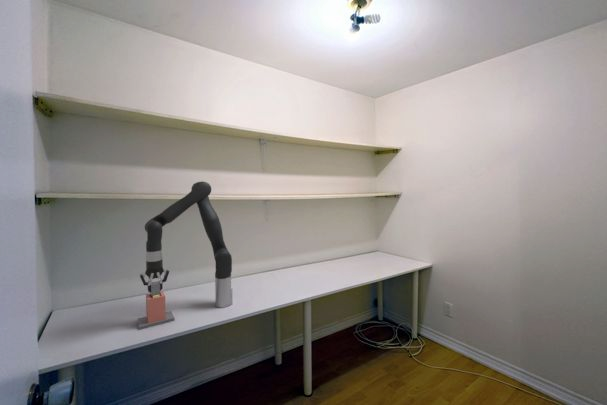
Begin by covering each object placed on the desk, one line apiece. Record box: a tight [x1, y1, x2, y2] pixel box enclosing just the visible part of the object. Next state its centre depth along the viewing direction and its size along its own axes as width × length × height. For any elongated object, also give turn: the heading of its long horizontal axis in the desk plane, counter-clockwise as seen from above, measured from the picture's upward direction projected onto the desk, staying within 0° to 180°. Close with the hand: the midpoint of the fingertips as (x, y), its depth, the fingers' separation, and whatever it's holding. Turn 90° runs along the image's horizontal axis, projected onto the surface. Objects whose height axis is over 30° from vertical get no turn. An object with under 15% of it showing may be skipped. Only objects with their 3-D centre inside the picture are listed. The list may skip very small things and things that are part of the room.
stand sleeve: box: [137, 290, 175, 331], centre depth 143 cm, size 16×10×15 cm, turn 125°
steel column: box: [151, 280, 160, 298], centre depth 143 cm, size 4×4×18 cm
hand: (155, 291), depth 142 cm, fingers closed on steel column, 4 cm apart
